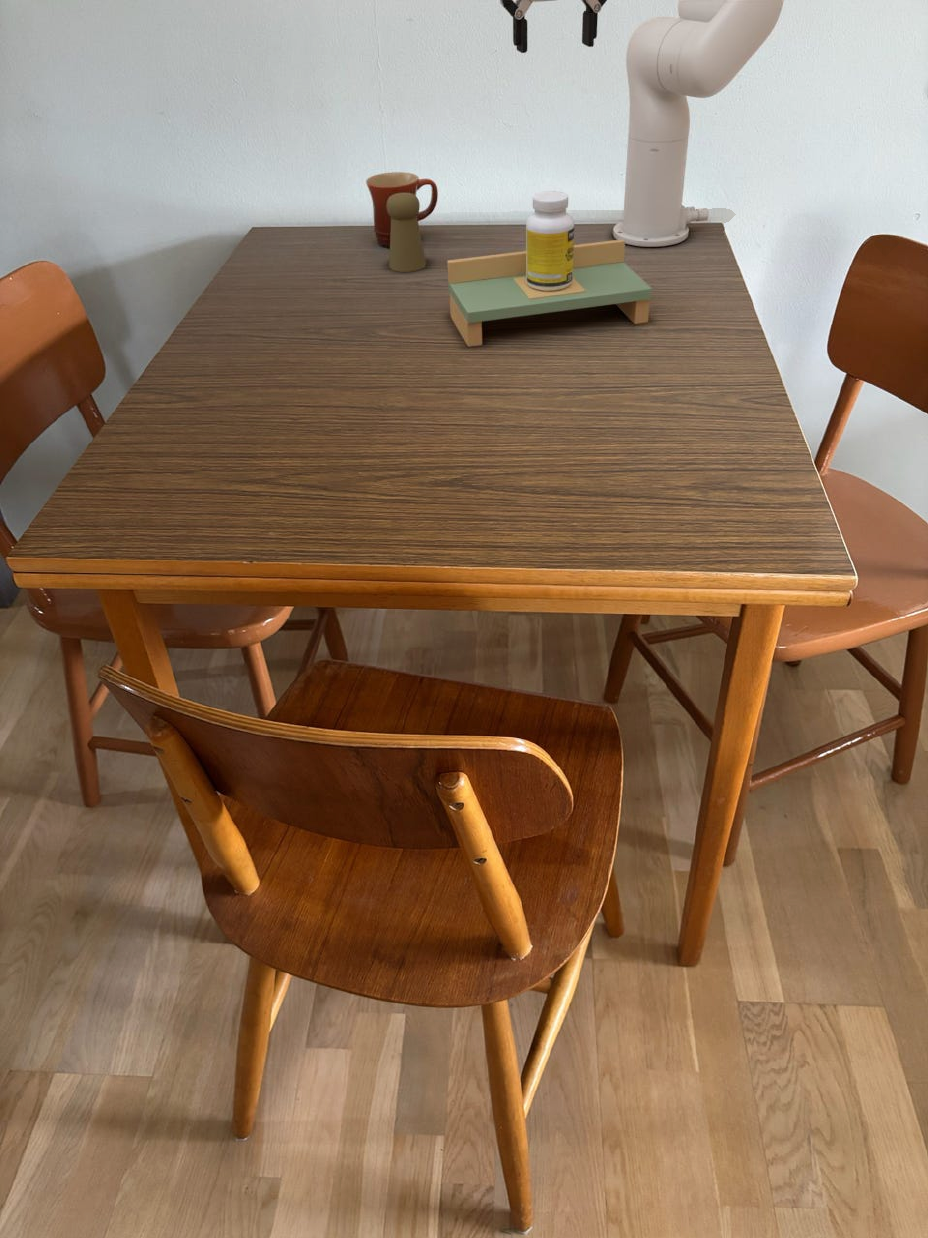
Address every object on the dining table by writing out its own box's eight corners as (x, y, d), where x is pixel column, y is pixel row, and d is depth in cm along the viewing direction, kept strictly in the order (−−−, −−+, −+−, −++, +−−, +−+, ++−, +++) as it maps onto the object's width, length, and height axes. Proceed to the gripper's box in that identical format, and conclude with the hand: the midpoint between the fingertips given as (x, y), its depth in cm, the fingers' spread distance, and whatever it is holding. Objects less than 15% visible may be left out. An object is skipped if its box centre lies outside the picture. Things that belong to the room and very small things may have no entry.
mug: (379, 253, 161) (373, 189, 154) (366, 238, 167) (360, 175, 161) (447, 243, 164) (443, 179, 157) (432, 228, 170) (428, 167, 164)
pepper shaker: (421, 272, 153) (416, 200, 146) (385, 271, 154) (378, 199, 147) (430, 259, 158) (425, 188, 151) (394, 258, 159) (388, 188, 152)
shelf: (619, 293, 143) (622, 238, 138) (649, 323, 134) (654, 266, 129) (450, 315, 139) (447, 260, 134) (468, 348, 130) (466, 290, 125)
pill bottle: (565, 294, 130) (567, 204, 122) (519, 290, 132) (519, 201, 124) (577, 277, 134) (580, 190, 127) (533, 273, 136) (534, 187, 129)
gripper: (611, -110, 127) (604, 38, 138) (485, -102, 125) (488, 49, 136) (631, -108, 122) (622, 47, 133) (499, -100, 119) (502, 58, 130)
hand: (554, 48), depth 134 cm, fingers open, 9 cm apart
